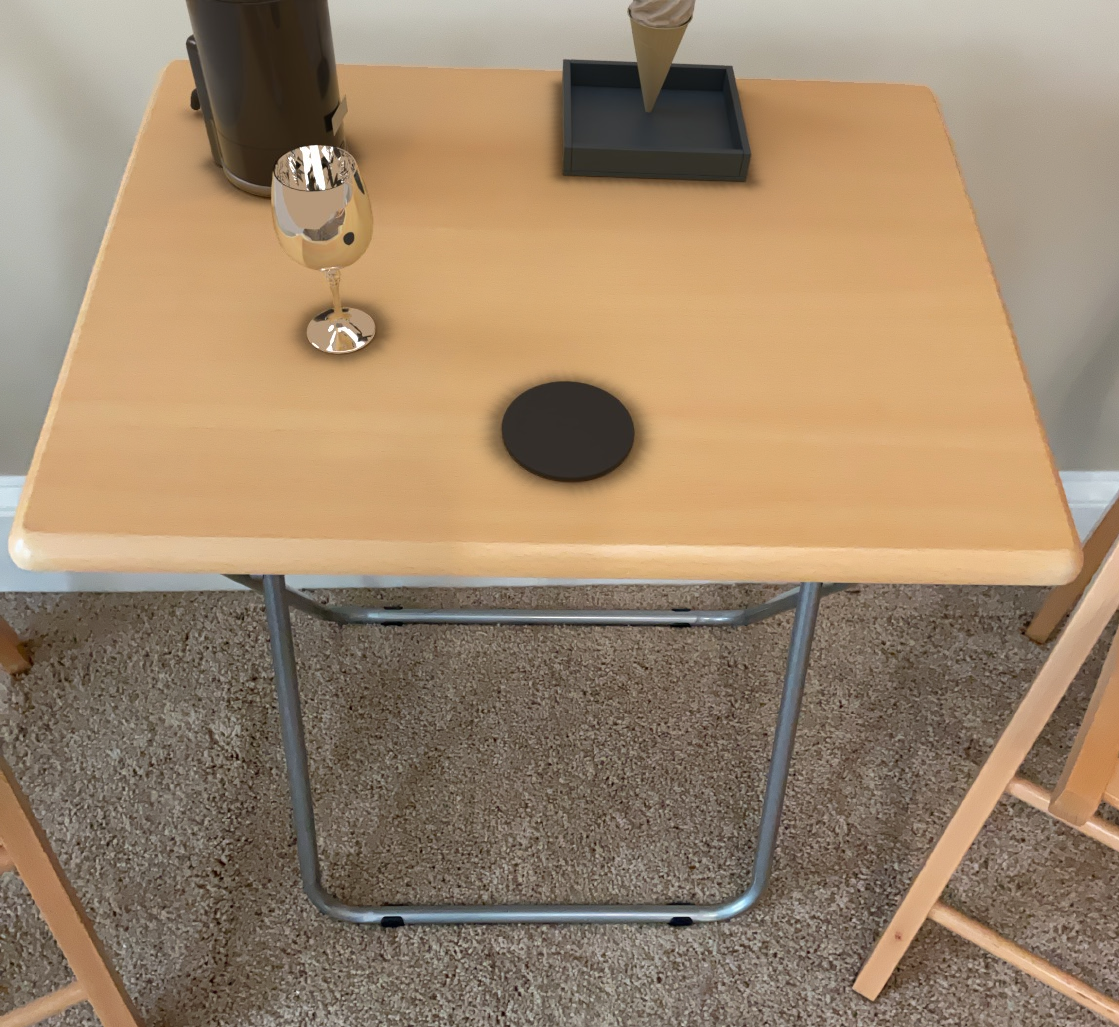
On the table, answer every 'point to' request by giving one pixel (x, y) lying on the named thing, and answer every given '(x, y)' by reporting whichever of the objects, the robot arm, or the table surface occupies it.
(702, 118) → the tray
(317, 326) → the wineglass
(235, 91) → the robot arm
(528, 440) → the coaster
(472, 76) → the table surface
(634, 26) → the ice cream cone
